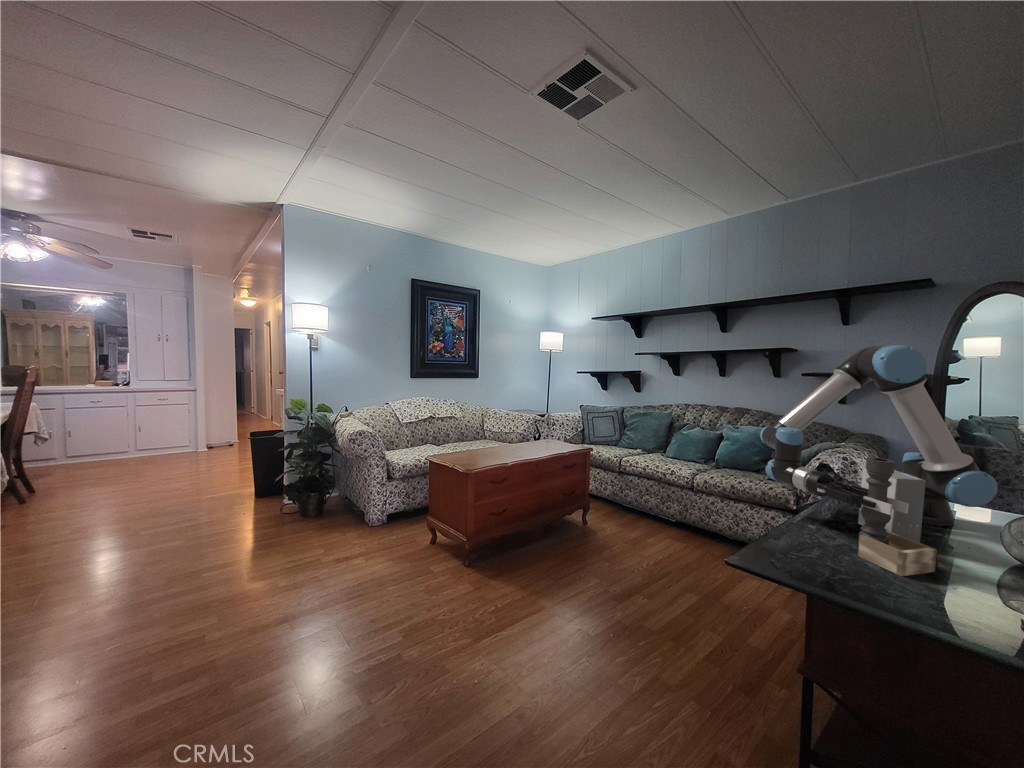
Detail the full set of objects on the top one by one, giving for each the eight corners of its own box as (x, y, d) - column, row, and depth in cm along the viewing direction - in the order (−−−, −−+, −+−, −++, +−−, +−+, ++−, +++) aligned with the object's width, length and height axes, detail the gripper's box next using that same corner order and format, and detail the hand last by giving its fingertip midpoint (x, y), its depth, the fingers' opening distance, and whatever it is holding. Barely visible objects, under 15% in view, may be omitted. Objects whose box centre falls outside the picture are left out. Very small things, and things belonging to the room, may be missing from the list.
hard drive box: (921, 547, 115) (927, 480, 114) (890, 544, 117) (896, 478, 115) (882, 525, 130) (887, 466, 129) (856, 523, 132) (861, 464, 130)
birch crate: (889, 552, 111) (891, 532, 111) (934, 571, 101) (937, 549, 101) (858, 556, 109) (859, 535, 108) (901, 576, 99) (903, 553, 98)
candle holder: (859, 539, 114) (866, 455, 113) (888, 547, 110) (896, 460, 108) (857, 546, 110) (864, 459, 108) (887, 555, 106) (895, 464, 104)
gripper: (834, 491, 129) (922, 520, 106) (790, 494, 125) (872, 525, 102) (836, 469, 128) (925, 493, 106) (792, 471, 124) (874, 497, 102)
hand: (899, 509), depth 104 cm, fingers closed on candle holder, 5 cm apart
